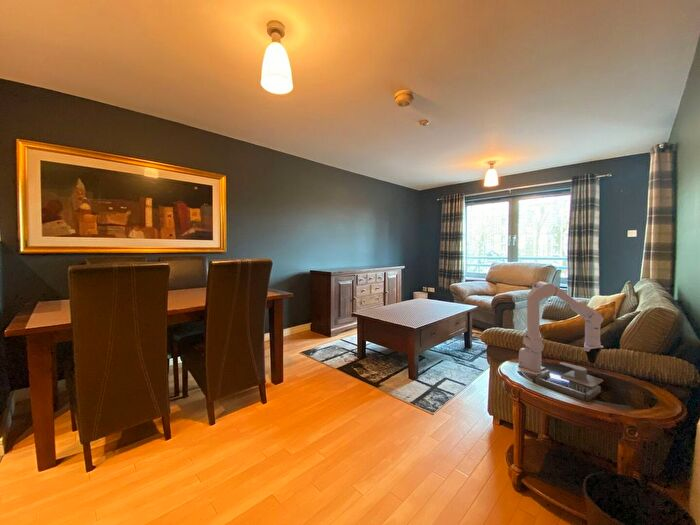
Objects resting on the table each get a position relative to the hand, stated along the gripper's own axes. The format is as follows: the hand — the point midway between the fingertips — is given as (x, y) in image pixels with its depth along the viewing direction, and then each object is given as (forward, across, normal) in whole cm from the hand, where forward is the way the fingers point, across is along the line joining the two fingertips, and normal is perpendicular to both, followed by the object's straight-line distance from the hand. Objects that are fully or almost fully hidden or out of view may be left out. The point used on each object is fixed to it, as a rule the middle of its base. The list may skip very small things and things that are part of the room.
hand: (592, 362), depth 142 cm
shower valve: (+5, -14, 0) cm, 15 cm away
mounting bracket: (+4, -28, 0) cm, 28 cm away
